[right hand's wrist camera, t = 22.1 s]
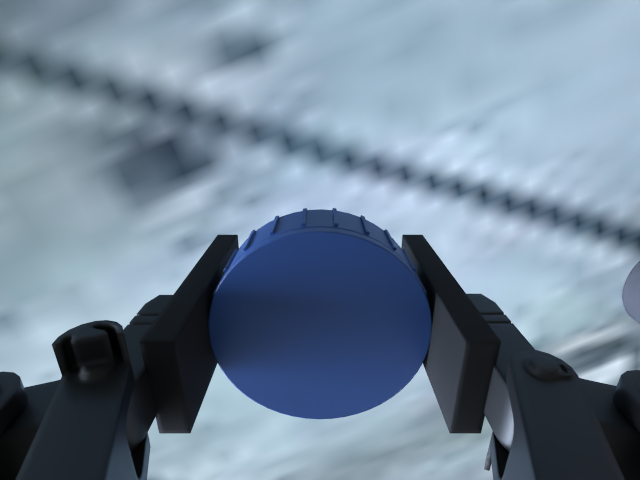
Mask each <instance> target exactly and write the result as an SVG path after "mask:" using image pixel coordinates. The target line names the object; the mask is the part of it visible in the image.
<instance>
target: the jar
mask: <svg viewBox="0 0 640 480" xmlns="http://www.w3.org/2000/svg"><path fill="white" fill-rule="evenodd" d="M623 304H624V307H625V309H626V311H627V313H628V314H629V315H630V316H631V317H632V318H633V319H634V320H636V321H637V322H638V323H640V262H639V263H638V264H637V265H636V266H635V267H634V269H633V270H632V271H631V273H630V274H629V276H628V278H627V280H626V283H625V285H624V289H623Z"/></svg>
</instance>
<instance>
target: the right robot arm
mask: <svg viewBox="0 0 640 480" xmlns="http://www.w3.org/2000/svg"><path fill="white" fill-rule="evenodd" d="M235 249H237V250H239V246H238V235H217V237H216V238H215V239H214V241H213V242H212V244H211V245H210V246H209V248H208V249H207V250H206V252H205V253H204V254H203V256H202V257H201V258H200V260H199V261H198V263H197V264H196V265H195V267H194V268H193V269H192V271H191V272H190V273H189V275H188V276H187V277H186V279H185V280H184V281H183V283H182V284H181V286H180V287H179V288H178V290H177V291H176V292H175V294H174V295H159V296H157V297H156V298H154V299H152V300H151V301H149V302H148V303H146V304H145V305H144V306H143V307H142V309H141V310H140V311H139V312H138V313H137V316H135V317H134V318H133V319H132V320H131V322H130V325H127V326H126V328H125V329H124V330H123V328H122V326H121V325H120V324H119V323H117V322H114V321H108V320H104V321H94V322H90V323H86V324H82V325H80V326H77V327H75V328H72V329H70V330H68V331H67V332H65V333H64V334H62V335H61V336H59V337H58V338H57V339H56V340H55V341H54V343H53V344H52V346H53V349H54V352H55V355H56V358H57V362H58V365H59V368H60V371H61V374H62V378H61V380H58V381H54V382H49V383H44V384H39V385H35V386H30V387H25V388H24V386H23V384H22V381H21V379H20V377H19V376H18V375H17V374H15V373H12V372H0V480H147V472H148V463H149V454H150V442H149V437H148V430H149V428H150V426H151V424H152V422H153V420H154V419H155V417H156V420H157V424H158V429H159V433H191V430H192V427H193V425H194V422H195V420H196V417H197V414H198V412H199V409H200V407H201V404H202V401H203V399H204V396H205V394H206V391H207V388H208V386H209V383H210V381H211V378H212V376H213V373H214V370H215V368H216V365H217V363H218V362H217V360H216V358H215V356H214V353H213V350H212V347H211V343H210V336H209V327H208V319H209V311H210V306H211V303H212V299H213V296H212V295H213V292H214V290H215V289H216V287H217V285H218V283H219V281H220V279H221V278H222V276H223V274H224V269H225V267H226V265H227V263H228V262H229V260H230V258H231V256H232V254H233V253H234V251H235ZM402 249H405V250H406V252H407V254H408V256H409V258H410V259H411V261H412V263H413V265H414V267H415V268H416V270H417V271H416V273H417V275H418V277H419V279H420V280H421V282H422V284H423V286H424V288H425V290H426V291H427V294H428V296H427V298H428V301H429V305H430V310H431V317H432V331H431V339H430V344H429V349H428V351H427V354H426V356H425V359H424V361H423V365H424V367H425V370H426V372H427V375H428V378H429V380H430V383H431V385H432V388H433V390H434V393H435V396H436V398H437V401H438V403H439V406H440V409H441V411H442V414H443V416H444V419H445V422H446V424H447V427H448V429H449V432H450V433H481V430H482V426H483V421H484V417H485V416H486V418H487V420H488V422H489V424H490V426H491V428H492V430H493V432H492V437H491V441H490V445H489V449H488V453H487V458H486V462H485V468H484V469H485V470H490V466H491V462H492V471H493V480H640V370H634V371H626V372H625V373H624V374H622V375H621V377H620V379H619V382H618V385H617V386H613V385H608V384H603V383H599V382H594V381H589V380H585V379H581V378H579V377H578V375H577V374H576V373H575V371H574V370H573V369H572V367H570V366H569V365H568V364H566V363H565V362H564V361H563V360H561V359H559V358H557V357H555V356H553V355H551V354H548V353H545V352H541V351H537V350H535V349H534V348H533V347H532V346H531V344H530V343H529V342H528V341H527V340H526V339H525V337H524V336H523V335H522V334H521V333H520V331H519V330H518V329H517V328H516V327H515V326H514V324H511V321H510V320H509V319H508V317H507V316H506V315H504V313H503V311H502V310H501V309H500V308H499V307H498V306H497V304H496V303H495V302H493V301H492V300H490V299H488V298H487V297H485V296H484V295H482V294H466V293H465V292H464V291H463V289H462V288H461V287H460V285H459V284H458V282H457V281H456V280H455V278H454V277H453V276H452V274H451V273H450V272H449V270H448V269H447V268H446V266H445V265H444V264H443V262H442V261H441V259H440V258H439V257H438V255H437V254H436V253H435V251H434V250H433V249H432V247H431V246H430V245H429V243H428V242H427V241H426V239H425V238H424V236H423V235H403V238H402Z"/></svg>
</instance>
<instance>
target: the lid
mask: <svg viewBox="0 0 640 480" xmlns="http://www.w3.org/2000/svg"><path fill="white" fill-rule="evenodd" d="M416 271H417V270H416V268H415V267H414V265H413V263H412V261H411V259H410V258H409V256H408V254H407V252H406V250H405V249H401V248H400V247H399V245H398V244H397V243H396V242H395V241H394V239H393V238H391V236H390V234H389V232H388V231H387V230H386V229H385V231H383V230H382V229H381V228H379V227H378V226H376V225H375V224H373V223H371V222H369V221H367V220H365V217H364V216H362V215H361V217H358V216H355V215H352V214H349V213H344V212H339V211H337V210H336V209H335V208H333V210H307V208H305V209H303V211H301V212H295V213H292V214H289V215H285V216H282V217H280V218H279V216H276V217H275V219H274V220H273V221H271V222H269V223H267V224H266V225H264V226H263V227H261V228H260V229H258V230H257V231H255V230H253V231H252V232H251V234H250V236H249V238H248V239H247V240H246V241H245V242H244V243H243V244H242V246H241V247H240V248H239V250H237V249H235V251H234V253H233V254H232V256H231V258H230V260H229V262H228V263H227V265H226V267H225V269H224V274H223V276H222V278H221V279H220V281H219V283H218V285H217V287H216V289H215V290H214V292H213V295H212V296H213V299H212V303H211V306H210V311H209V319H208V327H209V336H210V343H211V347H212V350H213V353H214V356H215V358H216V360H217V362H218V364H219V366H220V368H221V369H222V371H223V372H224V374H225V375H226V376H227V378H228V379H229V380H230V381H231V382H232V383H233V384H234V385H235V387H236V388H238V389H239V390H240V391H241V392H242V393H244V394H245V395H246V396H247V397H249V398H250V399H252V400H254V401H255V402H257V403H259V404H261V405H262V406H264V407H266V408H269V409H271V410H274V411H276V412H279V413H282V414H286V415H290V416H294V417H301V418H309V419H333V418H340V417H346V416H350V415H354V414H358V413H361V412H364V411H367V410H370V409H372V408H374V407H376V406H378V405H380V404H382V403H384V402H385V401H387V400H388V399H390V398H392V397H393V396H394V395H396V394H397V393H398V392H399V391H401V390H402V389H403V388H404V387H405V386H406V385H407V384H408V383H409V382H410V381H411V379H412V378H413V377H414V375H415V374H416V373H417V372H418V370H419V368H420V366H421V365H422V363H423V361H424V359H425V356H426V354H427V351H428V349H429V344H430V339H431V331H432V317H431V310H430V305H429V301H428V298H427V296H428V294H427V291H426V290H425V288H424V286H423V284H422V282H421V280H420V279H419V277H418V275H417V273H416Z"/></svg>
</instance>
